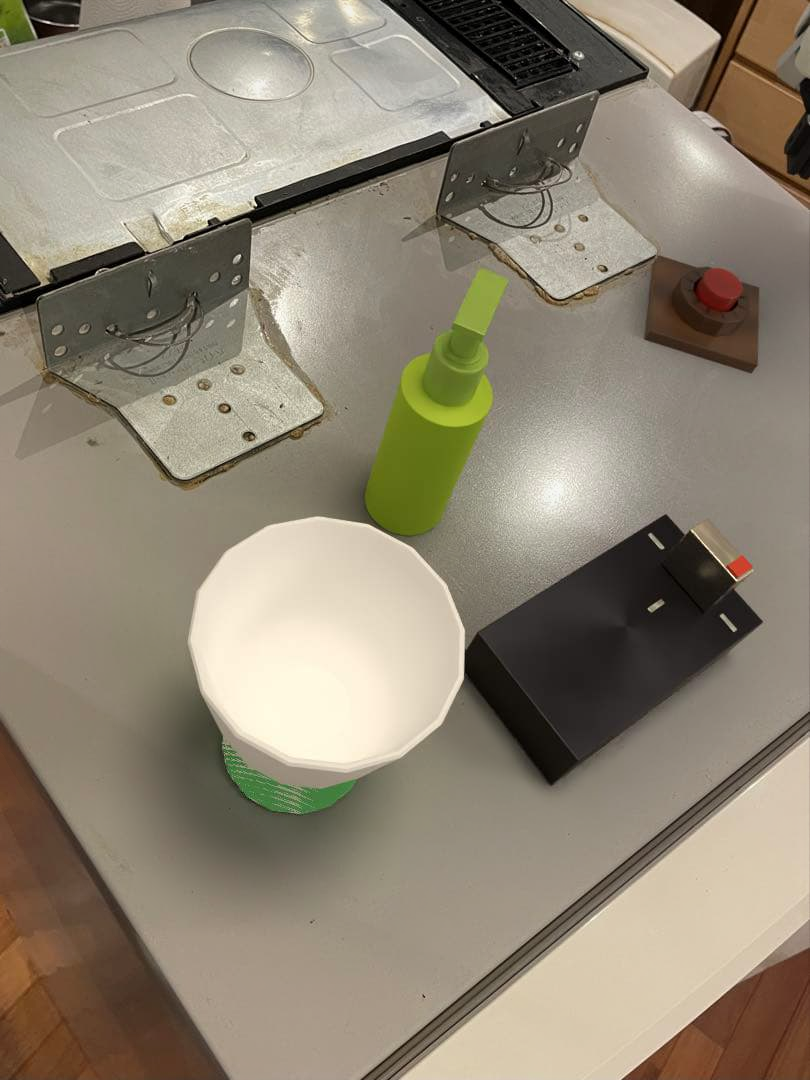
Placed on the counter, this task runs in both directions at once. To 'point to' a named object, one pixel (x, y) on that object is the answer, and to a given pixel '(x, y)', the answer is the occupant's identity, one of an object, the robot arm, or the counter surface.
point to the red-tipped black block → (707, 565)
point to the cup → (323, 656)
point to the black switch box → (600, 650)
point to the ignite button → (718, 289)
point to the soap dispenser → (435, 418)
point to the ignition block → (701, 317)
